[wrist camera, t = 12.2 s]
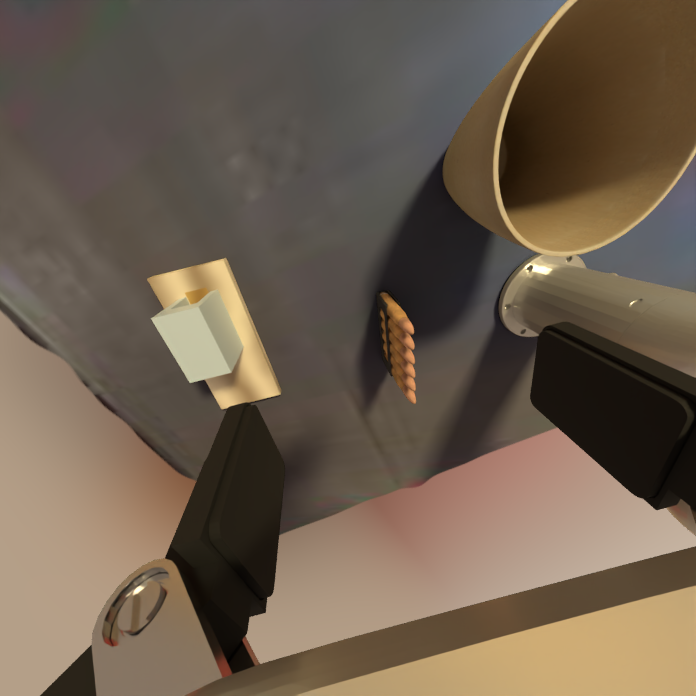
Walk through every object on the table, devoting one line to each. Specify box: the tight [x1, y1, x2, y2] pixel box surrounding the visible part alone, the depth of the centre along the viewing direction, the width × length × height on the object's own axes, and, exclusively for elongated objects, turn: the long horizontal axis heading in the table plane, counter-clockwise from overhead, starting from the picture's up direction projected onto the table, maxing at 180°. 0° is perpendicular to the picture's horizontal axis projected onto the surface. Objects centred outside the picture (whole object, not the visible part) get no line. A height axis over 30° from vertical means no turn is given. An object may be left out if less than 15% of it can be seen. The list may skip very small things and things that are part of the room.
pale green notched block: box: [151, 290, 244, 383], centre depth 32 cm, size 5×8×6 cm, turn 12°
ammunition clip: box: [376, 290, 416, 404], centre depth 34 cm, size 11×2×12 cm, turn 8°
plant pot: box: [443, 0, 696, 257], centre depth 24 cm, size 15×15×16 cm
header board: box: [147, 258, 281, 409], centre depth 35 cm, size 9×20×5 cm, turn 12°
